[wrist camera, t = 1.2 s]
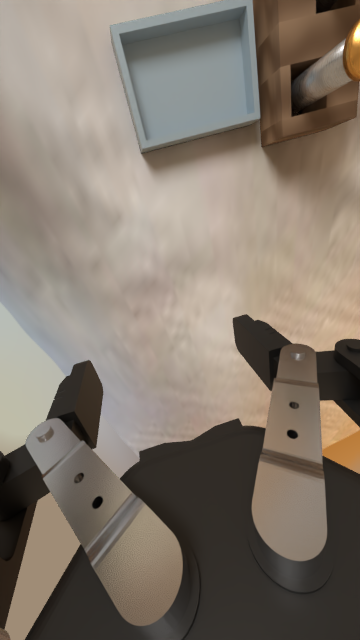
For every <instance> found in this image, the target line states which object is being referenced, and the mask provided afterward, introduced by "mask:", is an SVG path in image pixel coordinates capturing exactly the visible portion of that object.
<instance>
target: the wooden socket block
mask: <svg viewBox="0 0 360 640" xmlns="http://www.w3.org/2000/svg"><path fill="white" fill-rule="evenodd" d="M252 1H253V15H254V30H255V45H256V60H257V74H258V89H259V104H260V130H261V144H262V147H264V146H268V145H271V144H275V143H279V142H282V141H286V140H290V139H293V138H297V137H301V136H305V135H308V134H312V133H316V132H319V131H323V130H326V129H329V128H331V127H334V126H336V125H339V124H341V123H343V122H346V121H348V120H351V119H353V118H355V117H356V115H357V102H358V90H359V82H357V81H353V80H352V81H350V82H348V83H347V84H345V85H343V86H341V87H340V88H338V89H336V90H335V91H333V92H331V93H329V94H328V95H326V96H324V97H323V98H321V99H319V100H318V101H316V102H314V103H312V104H311V105H309V106H307V107H306V108H304V109H302V110H300V111H299V115H297V116H294V117H291V80H294V79H295V78H296V77H298V76H299V75H300V74H301V73H303V72H304V71H305V70H306V69H308V68H309V67H310V66H312V65H313V64H314V63H315V62H317V61H318V60H319V59H320V58H322V57H323V56H324V55H325V54H327V53H328V52H329V51H330V50H332V49H333V48H334V47H335V46H337V45H338V44H339V43H341V42H342V41H343V40H344V39H346V37H347V35H348V33H349V31H350V29H351V28H352V26H353V25H354V24H355V23H356V22H357V21H358V20H359V19H360V0H338V1H337V2H336V3H335V4H334V5H333V6H332V7H331V8H330V9H329V10H328V11H327V12H322V13H318V14H316V0H252Z"/></svg>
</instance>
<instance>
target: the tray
mask: <svg viewBox="0 0 360 640" xmlns="http://www.w3.org/2000/svg"><path fill="white" fill-rule="evenodd" d="M110 34H111V43H112V46H113V50H114V54H115V58H116V61H117V65H118V69H119V73H120V76H121V80H122V84H123V88H124V91H125V95H126V99H127V103H128V106H129V110H130V114H131V118H132V121H133V125H134V129H135V133H136V136H137V140H138V144H139V148H140V151H141V153H145V152H149V151H153V150H156V149H160V148H164V147H168V146H172V145H175V144H179V143H183V142H187V141H191V140H195V139H198V138H202V137H206V136H210V135H214V134H217V133H221V132H225V131H229V130H233V129H237V128H240V127H244V126H248V125H251V124H253V123H254V122H256V121H257V120H258V119H260V104H259V89H258V74H257V60H256V45H255V30H254V15H253V1H252V0H224V1H220V2H215V3H211V4H206V5H201V6H197V7H192V8H188V9H183V10H178V11H174V12H169V13H165V14H160V15H155V16H151V17H146V18H142V19H137V20H132V21H128V22H123V23H119V24H114V25H110Z"/></svg>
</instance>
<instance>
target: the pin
mask: <svg viewBox="0 0 360 640" xmlns="http://www.w3.org/2000/svg"><path fill="white" fill-rule="evenodd" d="M337 1H338V0H316V14H318V13H322V12H327V11H328V10H329V9H330V8H331V7H332V6H333V5H334V4H335V3H336V2H337Z"/></svg>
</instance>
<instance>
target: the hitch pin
mask: <svg viewBox="0 0 360 640" xmlns="http://www.w3.org/2000/svg"><path fill="white" fill-rule="evenodd" d="M352 80H353V81H357V82H359V81H360V19H359V20H358V21H357V22H356V23H355V24H354V25H353V26H352V28H351V29H350V31H349V33H348V35H347V37H346V39H344V40H343V41H342V42H341V43H339V44H338V45H337V46H335V47H334V48H333V49H332V50H330V51H329V52H328V53H327V54H325V55H324V56H323V57H322V58H320V59H319V60H318V61H317V62H315V63H314V64H313V65H312V66H310V67H309V68H308V69H306V70H305V71H304V72H303V73H301V74H300V75H299V76H298V77H296V78H295V79H294V80H293V81H291V116H292V115H294V114H295V113H297V112H299V111H300V110H302V109H304V108H306V107H307V106H309V105H311V104H312V103H314V102H316V101H318V100H319V99H321V98H323V97H324V96H326V95H328V94H329V93H331V92H333V91H335V90H336V89H338V88H340V87H341V86H343V85H345V84H347V83H348V82H350V81H352Z"/></svg>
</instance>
